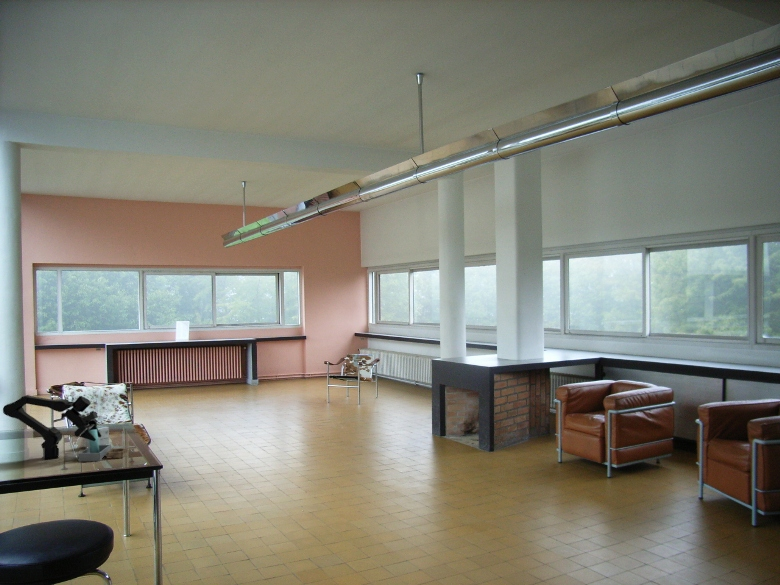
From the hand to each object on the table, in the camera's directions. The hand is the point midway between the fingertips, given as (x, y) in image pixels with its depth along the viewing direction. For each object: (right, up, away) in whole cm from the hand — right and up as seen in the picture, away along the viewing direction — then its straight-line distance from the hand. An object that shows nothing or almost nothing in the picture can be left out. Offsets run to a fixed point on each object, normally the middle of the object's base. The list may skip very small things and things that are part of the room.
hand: (98, 438), depth 329 cm
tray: (-1, -10, 0) cm, 10 cm away
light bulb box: (-10, -10, +21) cm, 25 cm away
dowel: (-1, -8, 0) cm, 9 cm away
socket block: (+10, -10, +1) cm, 14 cm away
